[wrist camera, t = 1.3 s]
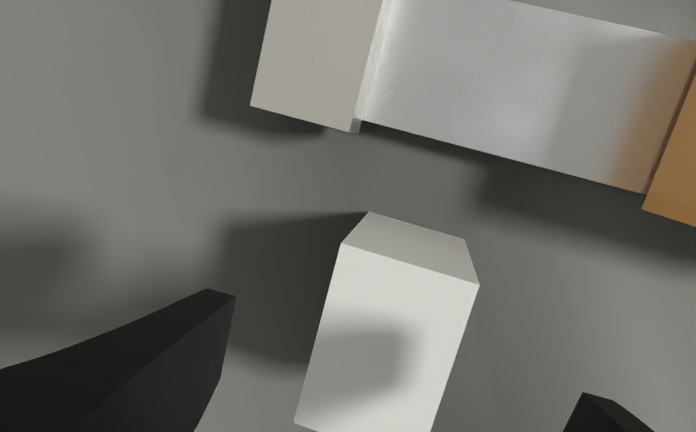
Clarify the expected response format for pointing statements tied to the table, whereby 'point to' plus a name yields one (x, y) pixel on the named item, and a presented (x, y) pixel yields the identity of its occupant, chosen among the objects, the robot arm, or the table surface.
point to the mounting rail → (483, 80)
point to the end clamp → (677, 169)
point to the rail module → (388, 329)
